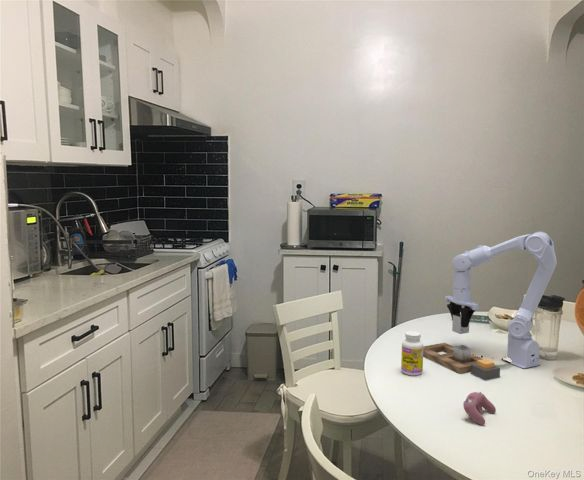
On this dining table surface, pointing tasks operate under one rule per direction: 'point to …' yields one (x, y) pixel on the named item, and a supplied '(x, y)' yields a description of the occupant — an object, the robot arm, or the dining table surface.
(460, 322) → the steel billet
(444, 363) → the brown board with cutouts
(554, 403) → the dining table surface
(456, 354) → the block
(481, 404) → the video game controller
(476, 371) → the button housing
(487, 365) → the button
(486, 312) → the dining table surface
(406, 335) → the supplement bottle
